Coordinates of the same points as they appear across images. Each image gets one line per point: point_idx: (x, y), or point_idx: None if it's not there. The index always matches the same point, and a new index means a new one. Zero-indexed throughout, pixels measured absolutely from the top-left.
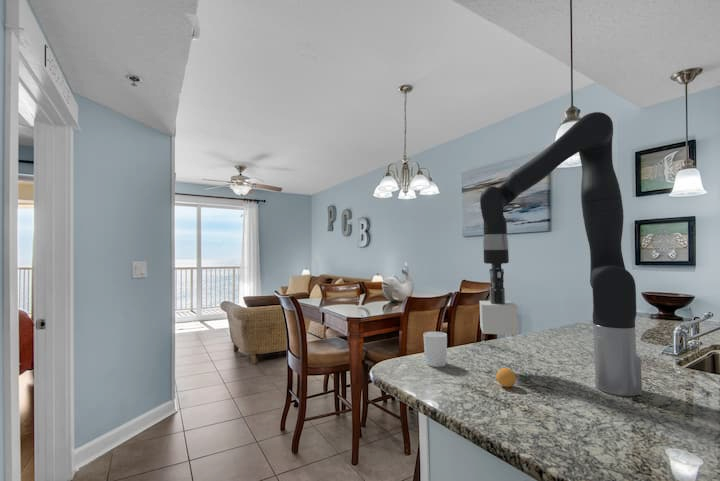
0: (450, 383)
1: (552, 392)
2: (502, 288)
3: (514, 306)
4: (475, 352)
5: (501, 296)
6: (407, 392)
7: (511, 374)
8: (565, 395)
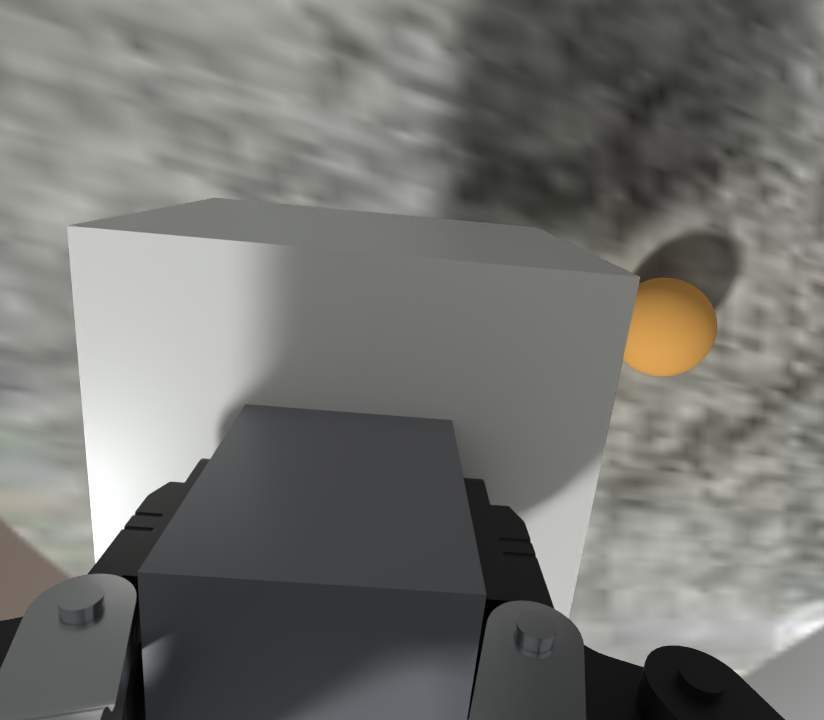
0: (606, 549)
1: (721, 97)
2: (732, 687)
3: (627, 318)
4: (42, 373)
5: (493, 541)
6: None
7: (713, 313)
8: (763, 40)
